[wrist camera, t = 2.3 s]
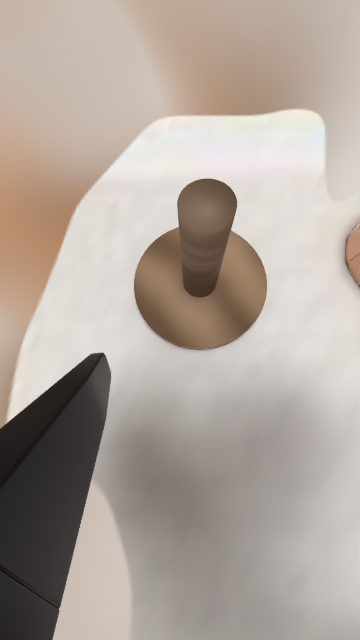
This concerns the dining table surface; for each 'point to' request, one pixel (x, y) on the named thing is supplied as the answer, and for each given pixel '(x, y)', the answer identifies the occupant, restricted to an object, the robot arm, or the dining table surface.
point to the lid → (201, 273)
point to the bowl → (354, 253)
